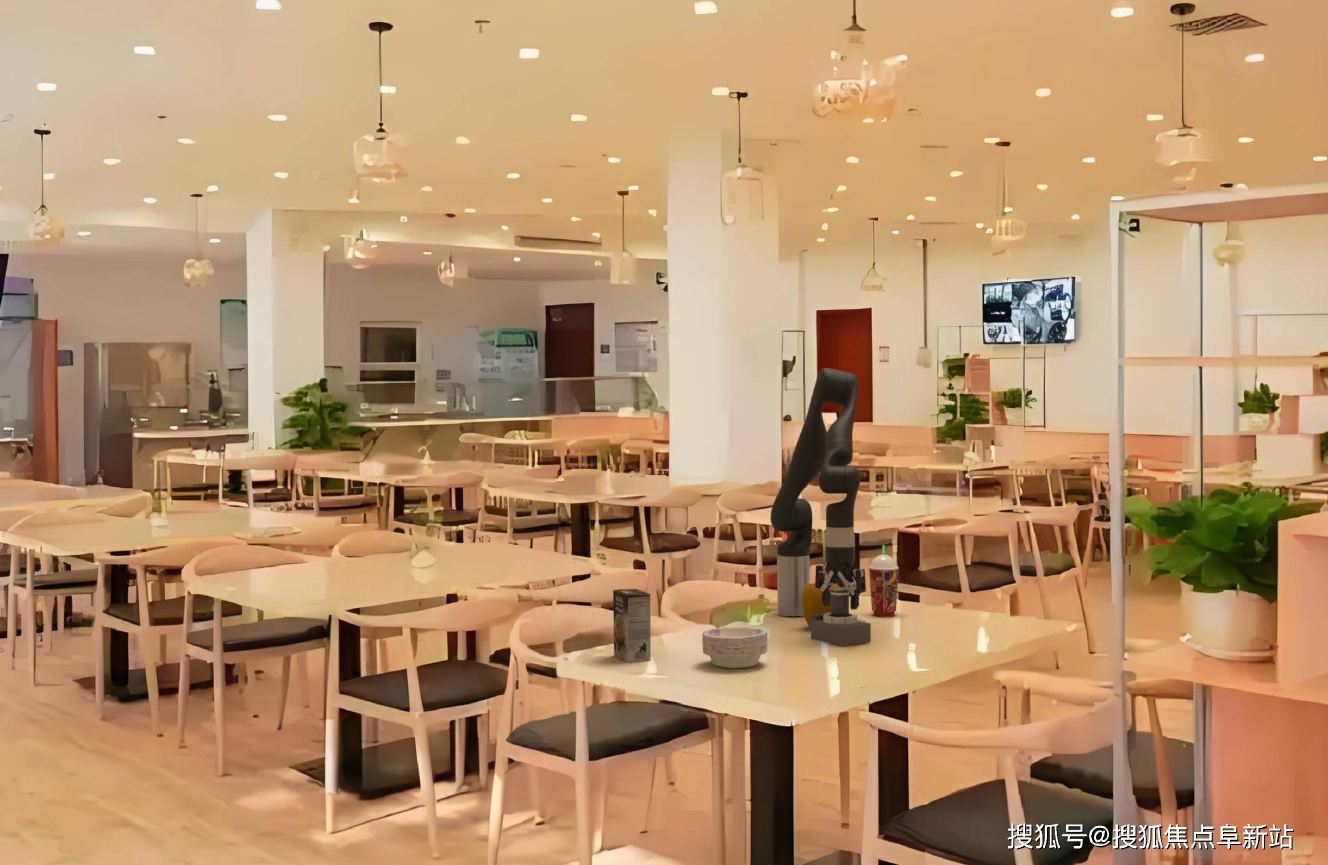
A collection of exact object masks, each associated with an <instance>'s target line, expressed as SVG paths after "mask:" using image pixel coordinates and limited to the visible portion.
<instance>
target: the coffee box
mask: <svg viewBox="0 0 1328 865" xmlns="http://www.w3.org/2000/svg"><path fill="white" fill-rule="evenodd" d="M612 592H613V594H612V596H613V597H612V598H613V606H612V607H613V656H615V657H617V658H618V659H620V660H622V659H623V660H622V661H624V660H625V661H624V662H626V663H633V662H635V661H637V662H642V661H641V660H648V661H651V657H652V656H651V593H649V592H646V591H643V590H641V589H638V588H631V589H629V588H621V589H613V590H612ZM635 663H636V662H635Z"/></svg>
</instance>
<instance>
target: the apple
mask: <svg viewBox="0 0 1328 865" xmlns="http://www.w3.org/2000/svg"><path fill="white" fill-rule="evenodd" d="M833 588H841V586H840V585H838V583H837V584H833V585H832V587H831V588H830V590H829V591H831V590H832V589H833ZM802 607H803V612H804V616H803V617H804V620H805V622H806V623H807V625H808V626H807V627H808V628H810V629H811V615H812V614H820V613H829V612H831V604H830V606H824V605H823V603H822V591H821V590H820V589H819V588H816V587H815V582H814V583H813V582H812V583H810V584H808V585H806V586H805V587H804V589H803V592H802Z"/></svg>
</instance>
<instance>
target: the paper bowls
mask: <svg viewBox="0 0 1328 865" xmlns="http://www.w3.org/2000/svg"><path fill="white" fill-rule="evenodd" d="M702 653H703V654H704V655H706V656H709V658H710V660H711V662H712V663H713V664H714V666H716V667H719V668H723V669H725V668H726V669H745V668H746V669H747V668H751V667H754V666H756V665H757V664H758V662H759V661H760V658H761V656H762V655H764V654H767V653H768V632H767V630H765V629H763V628H760V627H759V628H758V627H751V626H727V627H726V626H725V627H716V628H711V629H707V630H705V631H703V633H702Z"/></svg>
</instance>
